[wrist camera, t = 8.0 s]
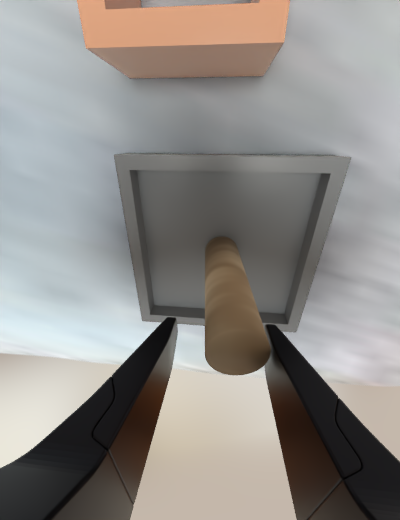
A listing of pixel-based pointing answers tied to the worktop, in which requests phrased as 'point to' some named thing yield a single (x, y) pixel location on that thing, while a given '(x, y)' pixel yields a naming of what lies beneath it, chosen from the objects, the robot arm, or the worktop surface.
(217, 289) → the dowel pin
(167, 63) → the terracotta square hollow block
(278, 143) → the worktop surface
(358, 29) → the worktop surface
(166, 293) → the charcoal tray
